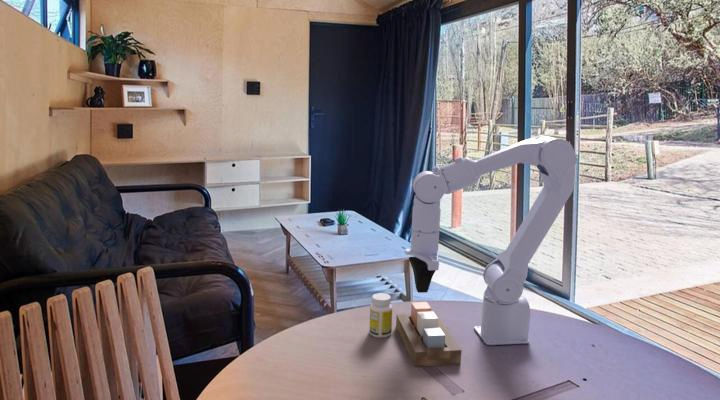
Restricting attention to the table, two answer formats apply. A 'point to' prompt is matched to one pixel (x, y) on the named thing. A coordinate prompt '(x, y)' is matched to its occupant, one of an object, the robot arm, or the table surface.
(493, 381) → the table surface
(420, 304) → the red key
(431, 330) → the blue key
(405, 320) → the key block
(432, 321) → the white key
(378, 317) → the supplement bottle
